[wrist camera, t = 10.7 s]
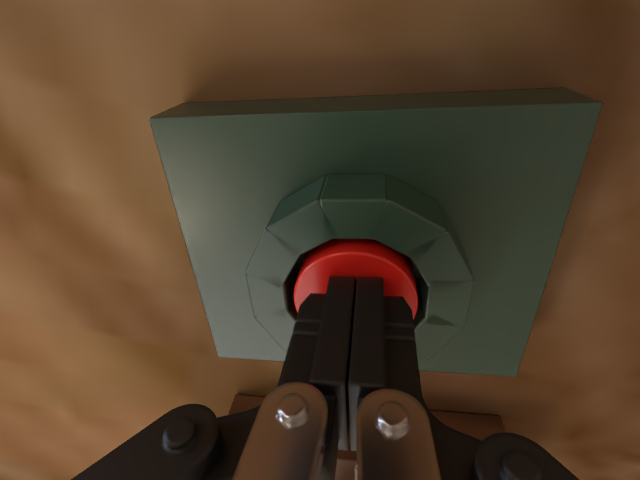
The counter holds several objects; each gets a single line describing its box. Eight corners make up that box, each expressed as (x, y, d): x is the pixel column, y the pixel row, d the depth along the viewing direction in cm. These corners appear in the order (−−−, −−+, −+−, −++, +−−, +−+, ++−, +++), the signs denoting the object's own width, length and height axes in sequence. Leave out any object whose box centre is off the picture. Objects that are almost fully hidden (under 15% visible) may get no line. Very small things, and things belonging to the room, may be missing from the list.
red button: (307, 308, 13) (298, 345, 12) (298, 220, 11) (286, 250, 10) (409, 313, 13) (413, 352, 11) (417, 221, 11) (423, 253, 9)
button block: (234, 321, 18) (200, 393, 14) (182, 103, 13) (109, 134, 9) (500, 335, 16) (533, 421, 12) (565, 87, 11) (650, 118, 7)
